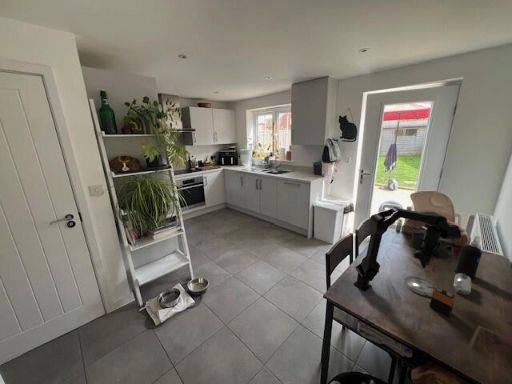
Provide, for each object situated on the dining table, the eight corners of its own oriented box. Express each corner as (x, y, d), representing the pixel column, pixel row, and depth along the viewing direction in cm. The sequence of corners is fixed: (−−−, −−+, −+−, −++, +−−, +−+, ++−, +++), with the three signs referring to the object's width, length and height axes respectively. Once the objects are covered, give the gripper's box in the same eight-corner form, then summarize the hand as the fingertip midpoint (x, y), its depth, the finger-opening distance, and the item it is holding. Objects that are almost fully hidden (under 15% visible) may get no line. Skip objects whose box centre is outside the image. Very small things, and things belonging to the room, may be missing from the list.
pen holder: (425, 253, 136) (428, 239, 133) (408, 247, 142) (411, 234, 140) (428, 247, 142) (431, 234, 139) (411, 243, 148) (414, 230, 146)
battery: (448, 317, 88) (453, 298, 85) (428, 307, 94) (433, 288, 91) (451, 312, 90) (456, 293, 88) (432, 302, 96) (436, 284, 93)
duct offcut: (469, 297, 99) (472, 286, 97) (452, 290, 103) (454, 280, 101) (469, 286, 105) (472, 276, 104) (453, 281, 109) (456, 271, 108)
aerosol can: (457, 276, 112) (466, 244, 107) (452, 268, 119) (460, 237, 114) (478, 281, 109) (488, 248, 103) (471, 272, 116) (480, 240, 110)
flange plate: (432, 301, 96) (433, 299, 96) (399, 284, 108) (399, 282, 107) (442, 289, 104) (443, 287, 103) (410, 274, 115) (411, 272, 115)
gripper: (447, 251, 87) (439, 282, 91) (460, 239, 97) (452, 267, 101) (416, 241, 96) (410, 270, 100) (431, 230, 106) (425, 257, 110)
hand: (425, 266), depth 102 cm, fingers open, 4 cm apart
